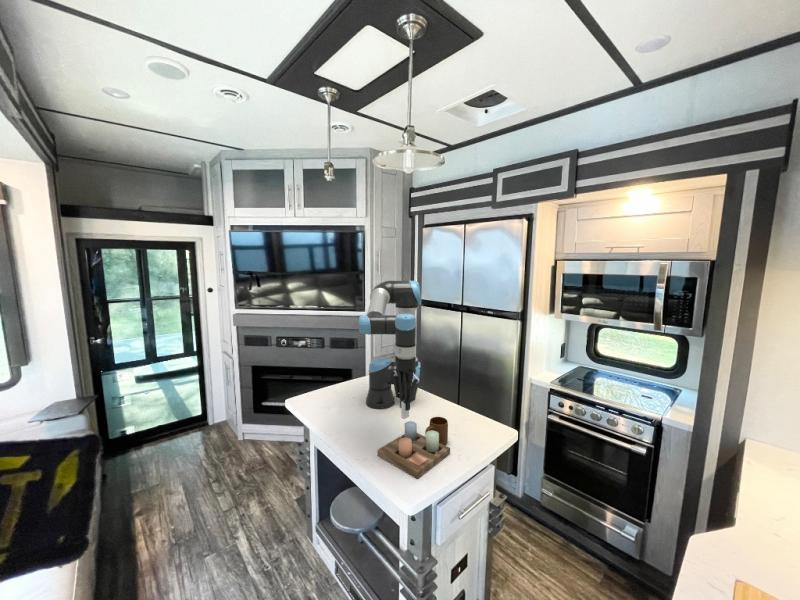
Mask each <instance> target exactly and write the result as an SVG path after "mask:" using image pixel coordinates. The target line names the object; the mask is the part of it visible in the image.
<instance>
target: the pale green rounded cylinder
mask: <svg viewBox="0 0 800 600" xmlns="http://www.w3.org/2000/svg"><path fill="white" fill-rule="evenodd" d="M425 437H426V450H427V452H429V453H437V451H438V450H439V433H438V432H437V431H432V430H431V431H427V432H426V435H425Z"/></svg>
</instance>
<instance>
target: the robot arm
mask: <svg viewBox="0 0 800 600" xmlns="http://www.w3.org/2000/svg"><path fill="white" fill-rule="evenodd" d="M369 299H370V301H369V305H368V309H367V312H366V314H364V315H363V314H362V315H360V316H359V318H358V332H359V334H361V335H368V336H369V335H387V336H388V335H389V336H390V335H391V336H392V335H394V336H395V343H394V345H395V348H394V349H395V351H394V352H395V353H394V354H395V358H394V360H395V361H393V360H392V359H391V358H389V357H380V358H376V359H373V360H372V361H370V363H369V366H368V392H367V395H366V397H365V405H366V406H367V407H369V408H371V409H374V410H382V409H383V410H384V409H388V408H391V407H392V406H394V405H395V399H396V398H397V399H399V408H400V409H401V415H400V417H401V419H403V420H405V419H408V418H409V417H410V410H411V403H412V402H414V401H415V400H416V397H417V392H418V388H419V383H420V382H421V380H422V378H421V377H420V374H421V362H420V361H419V359H418V357H417V350H416V349H417V345H416V339H417V317H416V310H417V309H419V305H421V304H422V296H421V289H420V283H419V281H416V280H385V281H383V282H379V284H376V286H374V287H373V289H372V290H371V292H370V295H369ZM388 304H391V305H392V304H394V305H395V308H396V309H397V311H398V313H397V315H386V311H387V305H388ZM392 385H393V388H394V393H395V396H394V394H393V389H392ZM395 397H396V398H395Z"/></svg>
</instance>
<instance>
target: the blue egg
mask: <svg viewBox="0 0 800 600" xmlns="http://www.w3.org/2000/svg"><path fill="white" fill-rule="evenodd" d="M417 424H418V423H417V422H415V421H412V420H409V421H406V422H404V431H403V432H404V433H403V434H404V438H410V439H411V440H412V442H415V440H416V439H417V433H418V430H417V429H418V427H417V426H418V425H417Z"/></svg>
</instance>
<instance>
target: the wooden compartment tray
mask: <svg viewBox="0 0 800 600" xmlns="http://www.w3.org/2000/svg"><path fill="white" fill-rule="evenodd" d="M401 438H404V433H403V434H402V435H401V436H398V437H397V438H394V440H392V441H389V442H388V443H386V444H385V445H383V446H381V447H379V448H378V449H377V452H376V453H377V457H379V458H380V459H382V460H384V461H386V462H387V463H389V464H390V465H393V466H394V467H396V468H398V469H399V470H401V471H403V472H404V473H406V474H408V475H410V476H412V477H414V478H415V479H417V480H418V479H420V478H421V477H422V476H424V475H425V474H426V473H427V472H428V471H430V470H431V469H433V468H435V466H437V465H438V464H439V463H441V461H442V462H443V460H444V459H446V458H447V457H448V456H450V455H451V448H450V447H449V446H447V445H443V444H440V443H439V450H438V451H436V452H435V453H434V454H433V453H432V452H429V451H427V450H426V435H422V434H421V433H418V432H417V439H416V440H415V441H413V442H412V455H411V456H410V457H408V458H407V459H405V458H403V457H401V456H399V439H401Z"/></svg>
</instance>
